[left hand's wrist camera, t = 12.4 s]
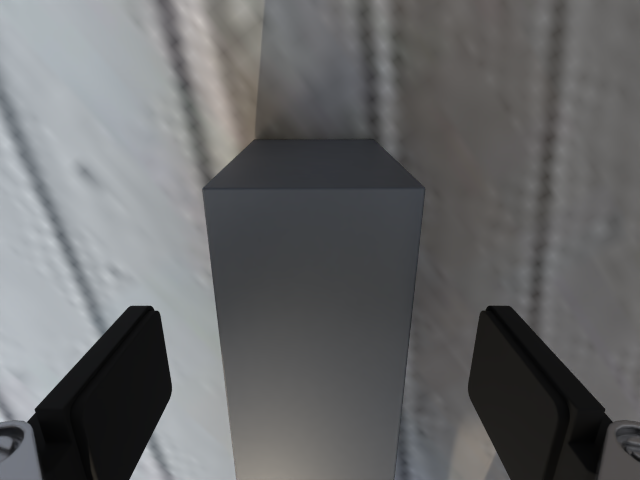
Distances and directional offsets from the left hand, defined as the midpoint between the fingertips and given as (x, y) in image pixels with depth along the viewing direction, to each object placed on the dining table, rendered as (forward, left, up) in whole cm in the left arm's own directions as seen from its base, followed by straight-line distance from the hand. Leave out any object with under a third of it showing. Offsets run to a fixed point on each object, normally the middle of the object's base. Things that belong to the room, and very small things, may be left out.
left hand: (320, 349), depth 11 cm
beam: (+4, +36, -9) cm, 37 cm away
